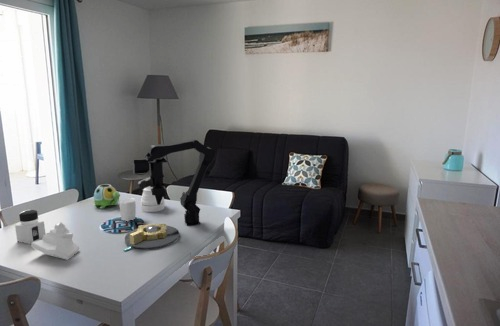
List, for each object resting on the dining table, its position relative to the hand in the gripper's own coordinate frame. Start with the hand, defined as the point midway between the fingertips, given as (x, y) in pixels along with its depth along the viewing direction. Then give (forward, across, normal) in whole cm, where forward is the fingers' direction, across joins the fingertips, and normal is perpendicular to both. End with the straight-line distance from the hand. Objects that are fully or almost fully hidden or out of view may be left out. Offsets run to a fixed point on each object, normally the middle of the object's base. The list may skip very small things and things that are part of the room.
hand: (158, 204), depth 154 cm
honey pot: (+12, -32, -1) cm, 34 cm away
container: (+12, -6, -54) cm, 56 cm away
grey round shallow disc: (+12, +10, -4) cm, 16 cm away
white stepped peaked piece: (+12, +14, -40) cm, 44 cm away
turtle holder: (+12, -45, -25) cm, 53 cm away
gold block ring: (+10, +11, -5) cm, 16 cm away
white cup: (+12, -18, -14) cm, 26 cm away
